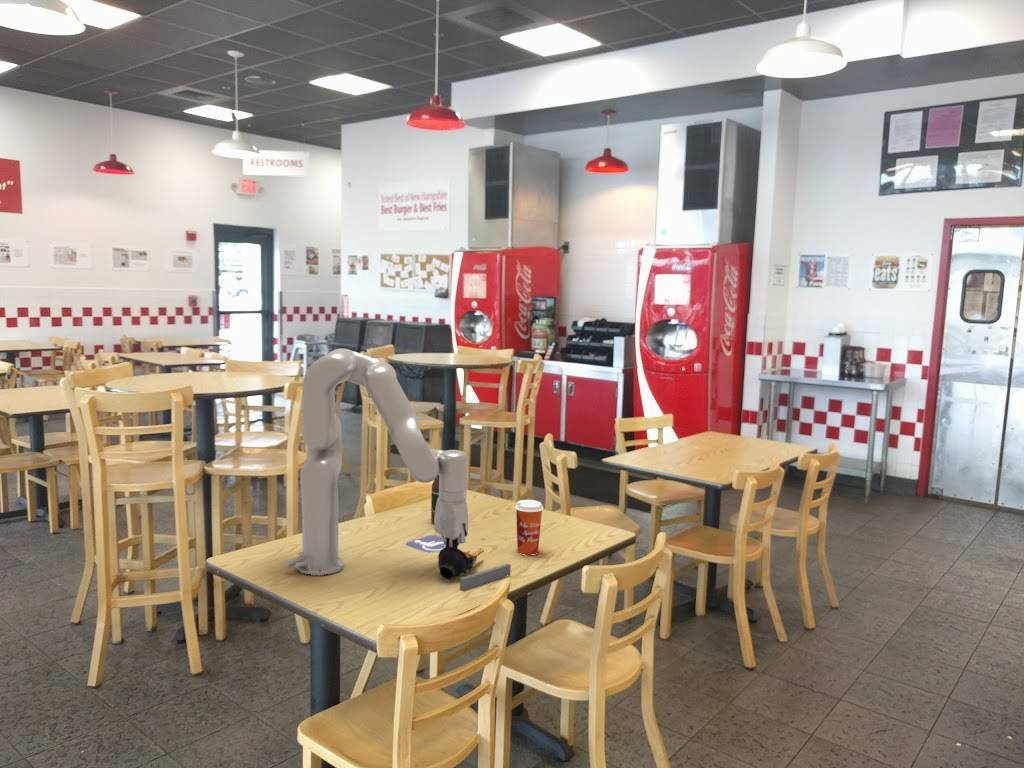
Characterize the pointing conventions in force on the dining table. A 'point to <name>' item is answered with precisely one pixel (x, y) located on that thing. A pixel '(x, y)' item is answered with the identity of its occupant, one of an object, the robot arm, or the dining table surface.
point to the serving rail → (484, 577)
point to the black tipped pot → (456, 561)
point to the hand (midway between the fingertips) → (451, 559)
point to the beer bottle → (434, 497)
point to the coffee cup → (528, 526)
